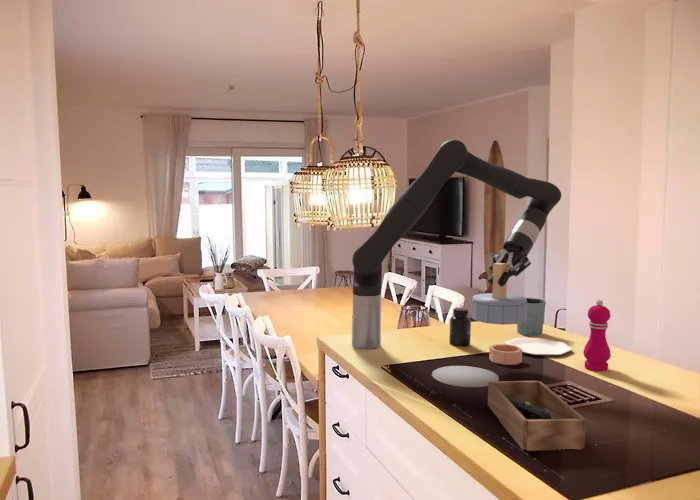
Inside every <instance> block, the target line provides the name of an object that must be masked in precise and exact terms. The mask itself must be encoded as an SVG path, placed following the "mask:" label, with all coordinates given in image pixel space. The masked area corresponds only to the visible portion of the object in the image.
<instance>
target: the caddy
mask: <svg viewBox="0 0 700 500" xmlns="http://www.w3.org/2000/svg"><path fill="white" fill-rule="evenodd" d="M487 387H488V389H487V392H488V393H487V407H489V409H490V410H491V411H492V412H493V414H494V415H495V416H496V418H497V420H498V421H499V423H500V424H501V425H502V426H503V428H505V430H506V431H507V433H508V434H509V436H510V437H512V439H513V440H514V441H515V442H516V444H517V445H518V446H519V447H520V449H521V450H523V451H529V452H530V451H531V452H532V451H565V450H564V449H575V450H582V449H585V446H586V445H585V444H586V442H585V441H586V426H587V425H586V423H587V419H586V418H585V417H584V416H583V415H581V414H580V412H578V411H577V410H575V408H573V407H572V406H571V405H570V404H568V403H567V402H566V401H565V400H564V399H562V398H561V397H560V396H558V394H557V393H556V392H554V391H553V390H552V389H551V388H550V387H548V386H547V385H546V384H545V383H543V382H542V381H540V380H505V381H504V380H503V381H491V382H489V383H488V386H487ZM505 396H506V397H511V398H514V399H518V400H521V401H524V402H529V403H530V404H531V405H533V406H535V407H537V408H540V409H548V411H549V414H550V415H551V418H552V419H536V420H527V419H526V418H525V417H524V416H523V415H522V414H521V413H520V412H519V411H518V410H517V409H516V407H515V406H514V405H513V404H512V403H511V402H510V401H509V400H508V399H507V398H506V397H505ZM556 449H558V450H556ZM561 449H563V450H561Z"/></svg>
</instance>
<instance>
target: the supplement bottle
mask: <svg viewBox="0 0 700 500" xmlns="http://www.w3.org/2000/svg"><path fill="white" fill-rule="evenodd" d="M452 311H453V313H452V315H453V316H451V317H450V319H449V338H448V339H449V345H451V346H454V347H463V348H466V347H469V346H471V332H472V331H471V328H472V326H471V325H472V319H471V318H470V317H469V309H468V308H465V307H454V308H453V310H452Z"/></svg>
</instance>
